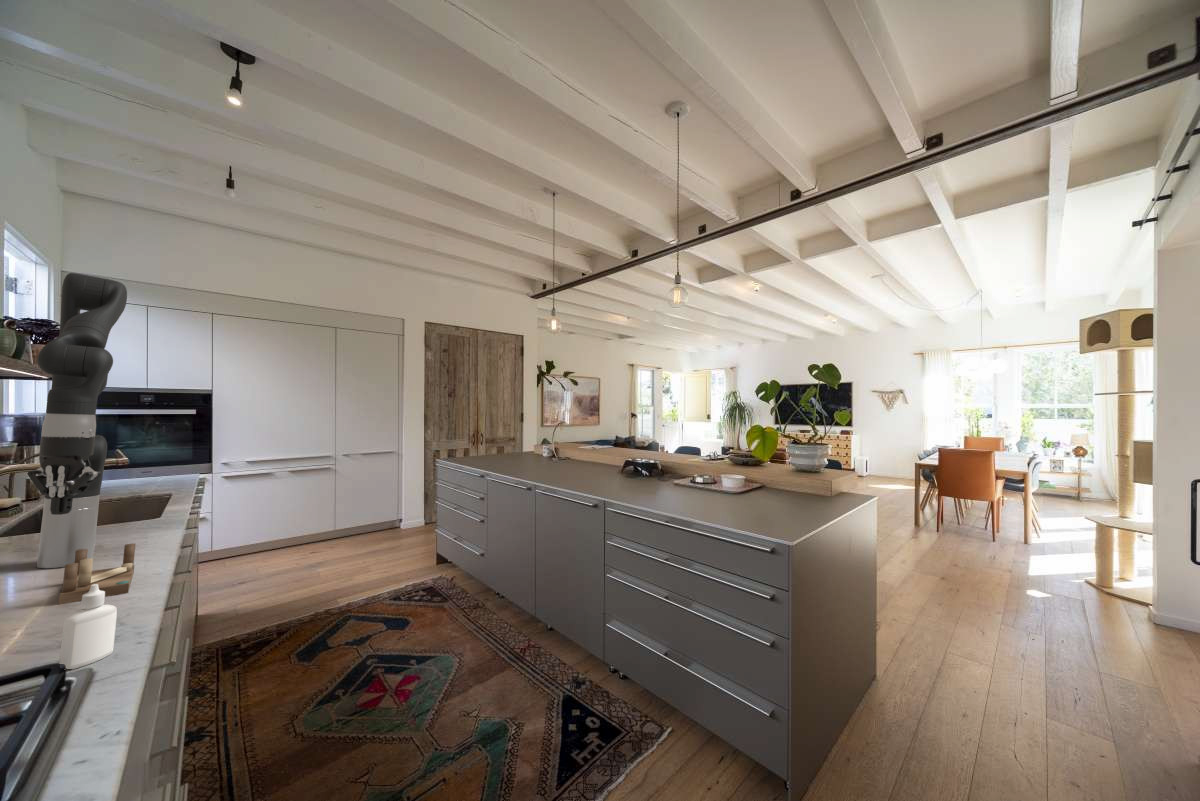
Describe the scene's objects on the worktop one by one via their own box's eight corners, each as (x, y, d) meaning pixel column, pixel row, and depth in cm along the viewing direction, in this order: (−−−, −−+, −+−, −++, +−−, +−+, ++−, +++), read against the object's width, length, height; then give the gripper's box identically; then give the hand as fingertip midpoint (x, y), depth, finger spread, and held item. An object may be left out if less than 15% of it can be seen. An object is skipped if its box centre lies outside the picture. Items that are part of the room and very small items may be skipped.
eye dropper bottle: (113, 659, 70) (121, 583, 70) (58, 673, 65) (67, 593, 66) (112, 649, 72) (119, 577, 73) (59, 663, 68) (67, 585, 69)
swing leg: (126, 568, 103) (128, 546, 103) (134, 568, 103) (136, 546, 103) (74, 585, 92) (77, 560, 92) (83, 585, 92) (86, 561, 92)
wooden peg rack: (72, 582, 100) (76, 549, 100) (133, 573, 106) (136, 542, 107) (58, 604, 88) (62, 567, 89) (127, 592, 95) (131, 558, 95)
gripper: (14, 434, 91) (4, 517, 90) (82, 436, 92) (74, 518, 91) (56, 433, 98) (48, 510, 97) (119, 435, 99) (111, 511, 98)
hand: (60, 513), depth 94 cm, fingers closed
